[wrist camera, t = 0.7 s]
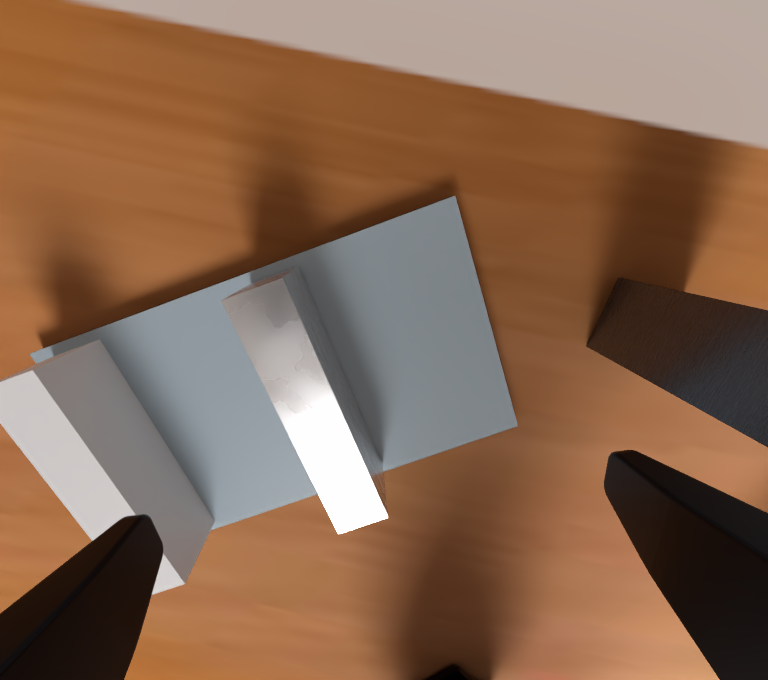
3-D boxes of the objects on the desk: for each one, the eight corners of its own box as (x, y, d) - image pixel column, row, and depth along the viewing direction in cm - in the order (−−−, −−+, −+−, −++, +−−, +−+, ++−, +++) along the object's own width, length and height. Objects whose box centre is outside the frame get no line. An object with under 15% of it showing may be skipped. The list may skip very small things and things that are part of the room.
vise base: (171, 535, 23) (125, 612, 19) (42, 348, 19) (-57, 388, 15) (512, 419, 22) (552, 470, 18) (451, 196, 18) (481, 188, 14)
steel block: (647, 363, 22) (1030, 554, 9) (586, 346, 21) (907, 525, 9) (682, 297, 21) (1168, 415, 8) (618, 277, 20) (1038, 370, 8)
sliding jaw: (342, 479, 22) (338, 534, 18) (250, 283, 18) (220, 300, 14) (383, 465, 22) (388, 517, 18) (298, 265, 18) (282, 278, 14)
